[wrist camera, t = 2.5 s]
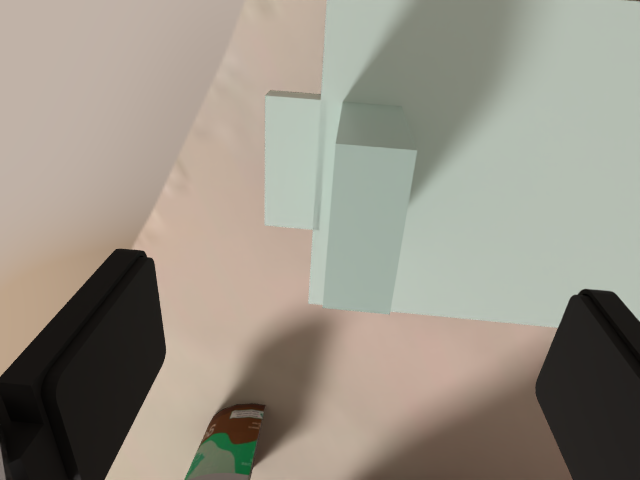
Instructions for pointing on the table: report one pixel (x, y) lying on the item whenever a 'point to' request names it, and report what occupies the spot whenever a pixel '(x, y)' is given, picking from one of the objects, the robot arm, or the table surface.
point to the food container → (229, 445)
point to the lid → (465, 157)
